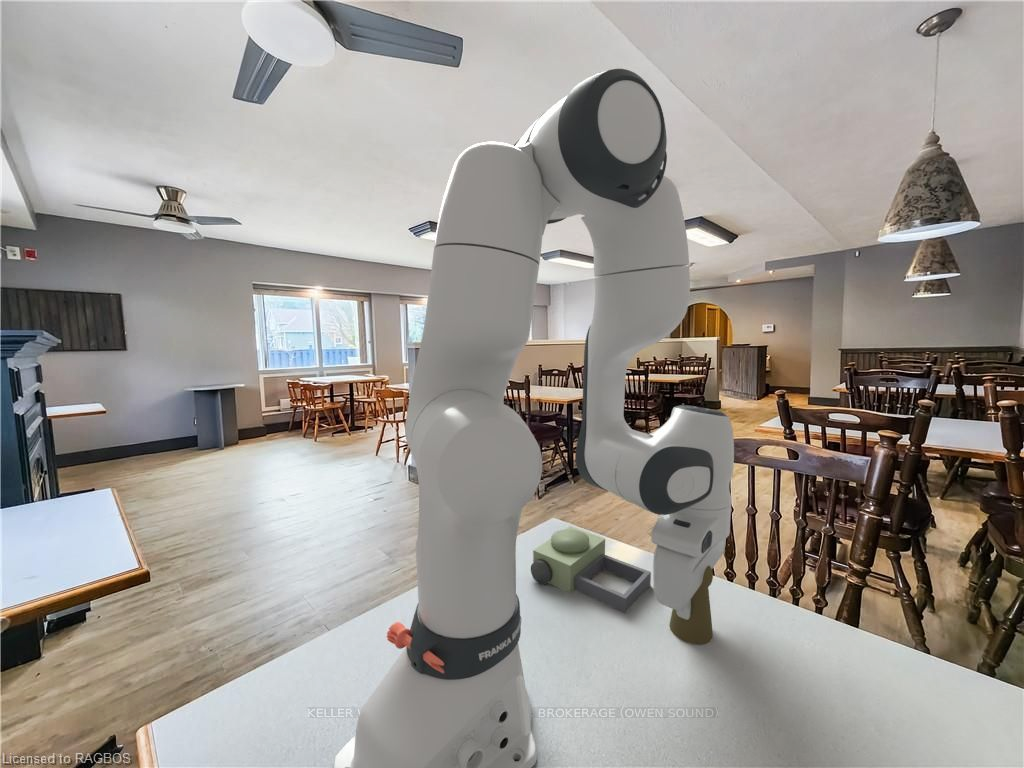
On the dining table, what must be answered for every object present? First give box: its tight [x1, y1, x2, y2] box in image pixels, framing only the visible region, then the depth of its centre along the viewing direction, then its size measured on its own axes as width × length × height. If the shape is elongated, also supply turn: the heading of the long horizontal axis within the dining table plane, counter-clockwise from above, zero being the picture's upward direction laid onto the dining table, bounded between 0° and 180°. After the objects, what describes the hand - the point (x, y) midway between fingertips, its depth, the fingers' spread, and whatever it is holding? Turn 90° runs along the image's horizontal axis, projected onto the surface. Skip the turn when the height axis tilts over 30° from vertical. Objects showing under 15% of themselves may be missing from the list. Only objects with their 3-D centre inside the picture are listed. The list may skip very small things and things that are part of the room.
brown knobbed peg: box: [669, 565, 714, 646], centre depth 64 cm, size 6×6×11 cm
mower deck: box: [530, 526, 652, 614], centre depth 77 cm, size 14×18×6 cm
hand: (691, 604), depth 64 cm, fingers open, 5 cm apart
